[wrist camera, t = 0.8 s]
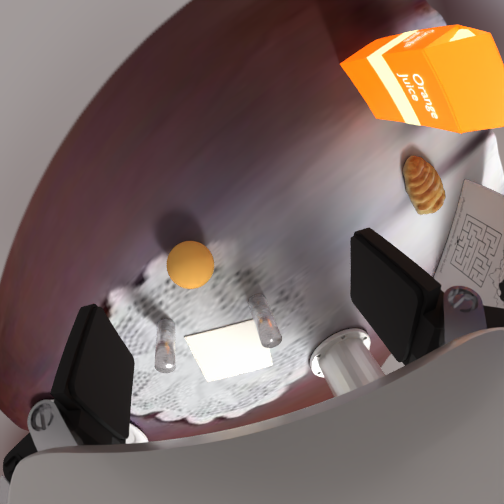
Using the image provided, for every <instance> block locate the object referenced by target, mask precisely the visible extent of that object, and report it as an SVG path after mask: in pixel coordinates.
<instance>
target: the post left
mask: <svg viewBox="0 0 504 504" xmlns="http://www.w3.org/2000/svg"><path fill="white" fill-rule="evenodd" d="M155 368H156V370H158V371H159V372H162V373H170V372H173V371H174V370H175V323H174V322H173V321H172V320H171V319H168V318H164V319H161V320H159V321H158V324H157V337H156V352H155Z"/></svg>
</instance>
